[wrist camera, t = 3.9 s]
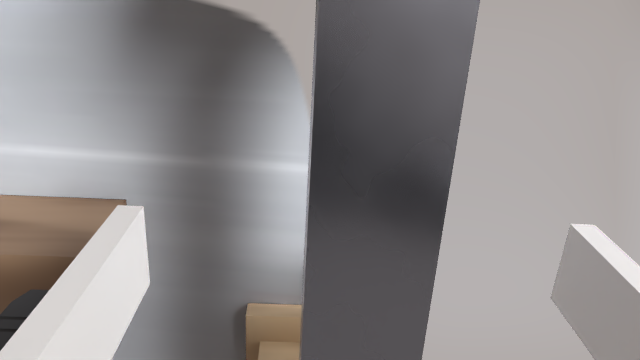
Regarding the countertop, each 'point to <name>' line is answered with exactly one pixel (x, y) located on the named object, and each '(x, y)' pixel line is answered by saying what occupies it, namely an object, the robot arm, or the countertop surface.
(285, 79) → the countertop surface
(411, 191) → the rail
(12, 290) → the block
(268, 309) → the hook stand
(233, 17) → the countertop surface
